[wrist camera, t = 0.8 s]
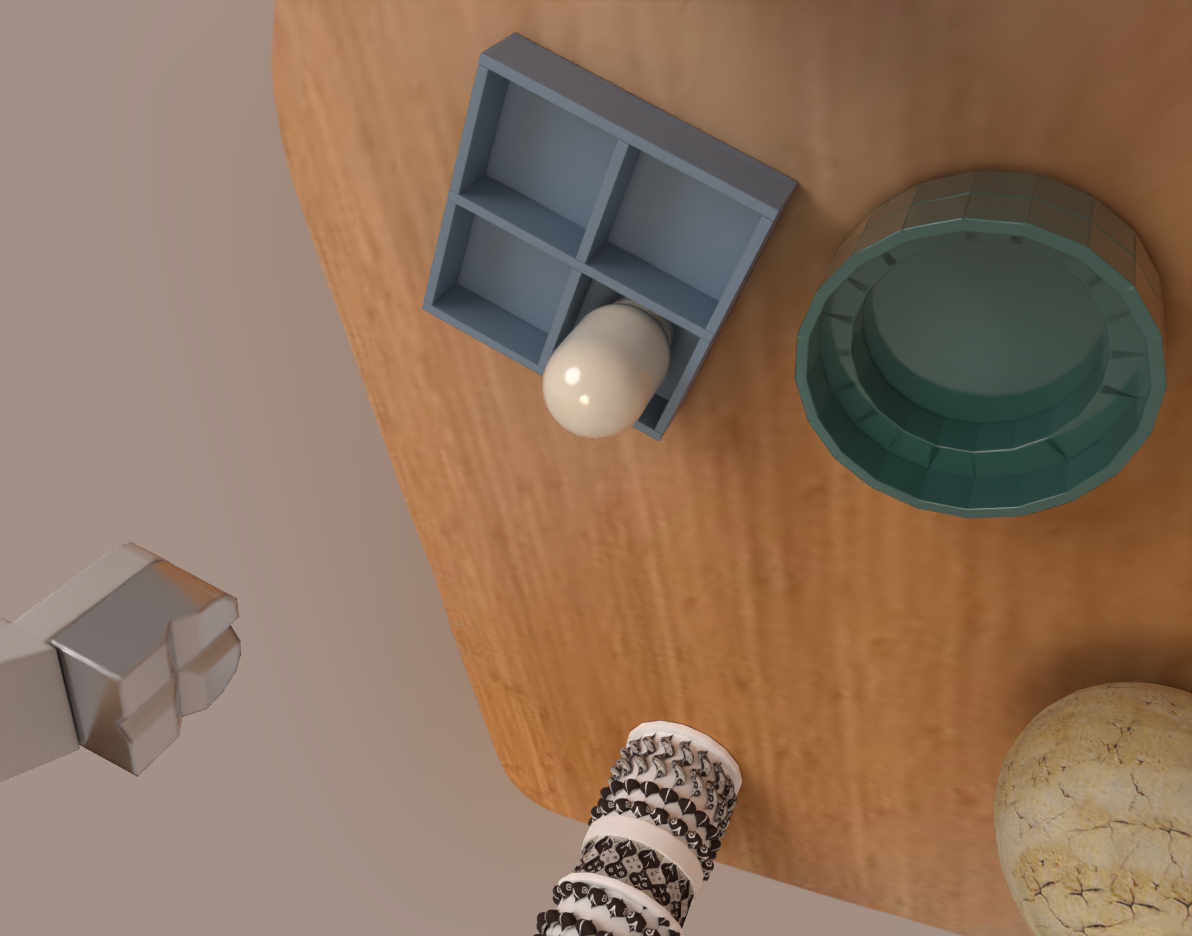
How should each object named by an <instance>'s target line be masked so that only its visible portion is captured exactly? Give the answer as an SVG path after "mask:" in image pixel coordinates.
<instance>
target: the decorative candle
mask: <svg viewBox="0 0 1192 936" xmlns="http://www.w3.org/2000/svg"><path fill="white" fill-rule="evenodd" d="M620 755H621V757H622V759H618V760H617V765H614V766H612V767H611V773H612V775H613V777H610V778H609V779H608V784H609V785H610V786H609V787H605V788H603V789H602V790H601V792H600V794H601V797H602V798H600V799H599V801H598V806H596V807H594V808H592V810H591V816H592V817H591V818H590V820H589V822H588V825H589V827H590V828H589V830H588V832H587V834H586V836H585V839H584V841H583V845H582V849H581V853H580V856H579V858H578V860H577V862H576V864H575V866H574V868H573V871H572V873H571V874H569V875H567V876H566V877H564V878H562V879H560V881H559V883H558V885H557V886H555V887H554V889H553V894H554V897H553V901H554V903H555V904H556V905H557V907H558V908H557V910H548V911H547V912H542V913H539V914H538V916H537V929H538V931H539V933H540V934H536V935H534V936H684V935H683V932H682V927H683V924H684V922H685V919H686V916H687V913H688V910H689V907H691V906H692V905H693V903H694V901H695V899H696V896H697V893H698V891H699V888H700V886H701V883H702V882H706V881H707V880H708V879H709V873H710V872H711V871H712V870H713V867H714V864H713V862H712V860H714V859H715V858H716V851H718V850H719V849H720V847H721V842H720V841H719V840H718V839H720V838H722V837H723V836H724V835H725V833H726V829H727V827H728V826H729V824H730V820H731V819H730V816H731V814H732V812H733V808H734V807H735V806H736V804H737V793H738V791H739V789H740V786H741V784H742V777H741V773H740V769H739V766H738V764H737V763H736V762H735V760H734V759H733V758H732V756H731V755H730V754H729V753H728V751H727V750H726V749H725V748H724V747H722V746H721V745H720V744H718V743H717V742H716V741H714V740H713V739H712V738H710V737H709V736H707V735H706V734H704V733H701V732H699V731H697V730H695V729H692V728H690V727H688V726H685V725H683V724H677V723H672V722H666V721H654V722H646V723H642V724H640V725H639V726H637V727H636V728H635V729H633V730H632V731H631V732H630V734H629V737H628V741H627V745H626V748H621V749H620ZM717 824H718V826H717ZM716 827H717V828H716Z"/></svg>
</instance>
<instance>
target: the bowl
mask: <svg viewBox="0 0 1192 936" xmlns="http://www.w3.org/2000/svg"><path fill="white" fill-rule="evenodd" d="M795 381H796V384H797V388H798V391H799V394H800V397H801V400H802V404H803V407H804V410H805V413H806V417H807V420H808V422H809V423H810V425H811V426H812V428H813V429H814V430H815V432H816V433H817V435H818V436H819V438H820V439H821V440H822V442H823V443H824V445H825V446H826V447H827V449H828V450H829V452H830V453H831V454H832V456H833V457H835V459H836V460H837V461H839V462H840V463H841V464H842V465H844V466H845V467H846V468H847V469H849V470H850V471H851V472H852V473H854V474H855V475H856V476H857V477H859V478H860V479H861V480H862V481H864V482H865V483H866V484H867V485H869V486H870V487H872V488H873V489H875V490H878V491H880V492H882V493H884V494H887V495H889V496H891V497H893V498H895V499H898V500H900V501H902V502H904V503H906V504H909V505H911V506H913V507H915V508H918V509H923V510H928V511H934V512H939V513H944V514H949V515H954V516H959V517H964V518H988V517H1014V516H1021V515H1022V516H1024V515H1028V514H1031V513H1035V512H1038V511H1041V510H1045V509H1048V508H1052V507H1055V506H1059V505H1062V504H1066V503H1069V502H1072V501H1075V500H1076V499H1078V498H1079V497H1081V496H1083V495H1084V494H1086V493H1087V492H1089V491H1091V490H1092V489H1094V488H1096V487H1097V486H1099V485H1100V484H1102V483H1104V482H1105V481H1107V480H1109V479H1110V478H1112V477H1113V476H1115V475H1117V473H1119V472H1120V471H1121V470H1122V468H1123V467H1124V466H1125V465H1126V464H1127V462H1128V461H1129V460H1130V459H1131V458H1132V456H1133V455H1134V454H1135V453H1136V452H1137V450H1138V449H1139V448H1140V447H1141V446H1142V444H1143V443H1144V442H1145V441H1146V440H1147V438H1148V437H1149V436H1150V434H1151V433H1152V430H1153V427H1154V424H1155V421H1156V418H1157V415H1158V412H1159V409H1160V406H1161V403H1162V400H1163V397H1164V394H1165V391H1166V388H1167V369H1166V336H1165V318H1164V307H1163V297H1162V287H1161V279H1160V275H1159V273H1158V272H1157V270H1156V268H1155V266H1154V264H1153V263H1152V261H1151V259H1150V257H1149V255H1148V253H1147V252H1146V250H1145V248H1144V246H1143V244H1142V242H1141V241H1140V239H1139V237H1138V235H1137V233H1136V232H1134V230H1133V229H1131V228H1130V227H1129V226H1128V225H1127V224H1125V223H1124V222H1123V221H1122V220H1121V219H1120V218H1118V217H1117V216H1116V215H1115V214H1114V213H1112V212H1111V211H1110V210H1109V209H1108V208H1106V207H1105V206H1104V205H1103V204H1102V203H1100V202H1099V201H1098V200H1097V199H1096V198H1094V197H1092V195H1090V194H1087V193H1085V192H1082V191H1080V190H1077V189H1074V188H1072V187H1069V186H1067V185H1064V184H1062V183H1059V182H1056V181H1054V180H1051V179H1049V178H1046V177H1044V176H1041V175H1037V174H1025V173H1012V172H998V171H984V170H979V171H972V172H967V173H963V174H958V175H954V176H949V177H944V178H940V179H935V180H930V181H926V182H923V183H920V184H918V185H916V186H914V187H913V188H911V189H909V190H907V191H905V192H903V193H902V194H900V195H898V196H896V197H894V198H893V199H891V200H889V201H887V202H885V203H884V204H882V205H880V206H878V207H876V208H875V209H874V210H873V211H872V212H871V213H870V214H869V215H868V216H867V217H866V218H865V219H864V220H863V221H862V222H861V223H860V224H859V225H858V226H857V228H856V229H855V230H854V231H853V232H852V233H851V234H850V235H849V236H848V237H847V238H846V239H845V240H844V241H843V242H842V244H841V245H840V247H839V249H838V251H837V253H836V255H835V256H834V258H833V260H832V262H831V264H830V266H829V268H828V270H827V272H826V274H825V276H824V278H823V280H822V282H821V283H820V285H819V287H818V289H817V291H816V293H815V295H814V298H813V300H812V302H811V304H810V307H809V309H808V311H807V313H806V316H805V318H804V320H803V322H802V325H801V327H800V329H799V331H798V335H797V345H796V364H795Z"/></svg>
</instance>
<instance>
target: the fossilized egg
mask: <svg viewBox="0 0 1192 936" xmlns="http://www.w3.org/2000/svg"><path fill="white" fill-rule="evenodd" d="M993 819H994V829H995V837H996V845H997V851H998V857H999V861H1000V864H1001V867H1002V870H1003V873H1004V876H1005V879H1006V881H1007V884H1008V887H1009V889H1010V892H1011V894H1012V896H1013V898H1014V900H1015V902H1016V904H1017V906H1018V908H1019V910H1020V912H1021V914H1022V915H1023V917H1024V919H1025V921H1026V923H1027V924H1028V926H1029V927H1030V929H1031V930H1032V931H1033V933H1034V934H1035V935H1036V936H1192V693H1190V692H1187V691H1184V690H1181V689H1177V688H1173V687H1169V686H1164V685H1159V684H1153V683H1143V682H1112V683H1106V684H1099V685H1094V686H1090V687H1087V688H1084V689H1081V690H1078V691H1075V692H1073V693H1072V694H1070V695H1068V696H1066V697H1064V698H1062V699H1060V700H1058V701H1056V702H1054V703H1053V704H1051V705H1049V706H1048V707H1046V708H1045V709H1043V710H1042V711H1041V712H1040V713H1039V714H1038V715H1037V716H1035V717H1034V718H1033V719H1032V720H1031V721H1030V722H1029V723H1028V725H1027V726H1026V727H1025V728H1024V729H1023V730H1022V732H1021V733H1020V734H1019V735H1018V737H1017V738H1016V740H1015V741H1014V743H1013V744H1012V746H1011V748H1010V749H1009V751H1008V753H1007V756H1006V758H1005V760H1004V762H1003V765H1002V768H1001V770H1000V773H999V777H998V781H997V786H996V791H995V799H994V810H993Z"/></svg>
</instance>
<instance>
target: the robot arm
mask: <svg viewBox="0 0 1192 936" xmlns="http://www.w3.org/2000/svg"><path fill="white" fill-rule="evenodd" d="M238 617H239V613H238V604H237V598H235V597H234V596H231V595H230V594H228V593H226V592H224V591H222V590H220V589H218V588H216V587H215V586H213V585H211V584H209V583H207V582H205V581H203V580H201V579H200V578H198V577H196V576H194V575H192V574H190V573H188V572H186V571H184V570H183V569H181V568H178V567H176V566H175V565H173V564H171V563H170V562H169V561H167V560H165V559H163V558H161V557H159V556H157V555H156V554H154V553H152V552H150V551H148V550H146V549H144V548H142V547H140V546H138V545H136V544H134V543H132V542H131V543H127V544H124V545H121V546H118V547H116V548H113V549H112V550H111V551H109V552H108V553H107V554H105V555H104V556H102V557H101V558H100V559H98V560H97V561H96V562H94V563H93V564H91V565H90V566H89V567H87V568H86V569H85V570H83V571H82V572H81V573H79V574H78V575H76V576H75V577H74V578H72V579H71V580H70V581H68V582H67V583H66V584H65V585H63V586H62V587H60V588H59V589H57V590H56V591H55V592H53V593H52V594H50V595H49V596H48V597H46V598H45V599H44V600H42V601H41V602H40V603H38V604H37V605H35V606H34V607H33V608H31V609H30V610H29V611H27V612H26V613H25V614H23V615H22V616H21V617H19V618H18V619H16V620H15V621H14V622H12V623H11V622H9V621H7V620H5V619H3V618H0V782H2V781H4V780H6V779H9V778H11V777H14V776H16V775H18V774H21V773H24V772H26V771H28V770H31V769H33V768H36V767H38V766H41V765H43V764H45V763H48V762H50V761H53V760H55V759H57V758H60V757H62V756H65V755H67V754H70V753H72V752H75V751H77V750H79V748H80V747H79V745H81V746H83V747H85V748H86V749H88V750H90V751H92V752H94V753H95V754H97V755H99V756H101V757H103V758H105V759H106V760H108V761H110V762H112V763H114V764H116V765H118V766H119V767H121V768H123V769H125V770H126V771H128V772H130V773H132V774H134V775H136V776H139V775H140V774H141V773H142V772H143V771H144V770H145V769H146V768H147V767H148V766H149V765H150V764H151V763H152V762H153V761H154V760H155V759H156V758H157V757H158V756H159V755H160V754H161V753H162V752H163V751H164V750H165V749H166V748H168V747H169V746H170V745H171V744H172V743H173V742H174V741H175V740H176V739H177V738H178V737H179V734H180V728H181V722H182V717H184V716H187V715H190V714H193V713H196V712H200V711H203V710H206V709H207V708H208V707H209V706H210V705H211V704H212V703H213V702H214V701H215V700H216V699H217V698H218V697H219V696H220V695H221V694H222V693H223V692H224V690H225V688H226V687H227V685H228V683H229V682H230V680H231V679H232V677H233V675H234V674H235V672H236V670H237V667H238V663H239V659H240V656H241V646H240V640H239V638H238V637H237V635H236V633H235V632H234V630H233V628H232V627H231V624H232V623H233V622H234V621H235V620H236V619H237V618H238Z"/></svg>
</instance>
